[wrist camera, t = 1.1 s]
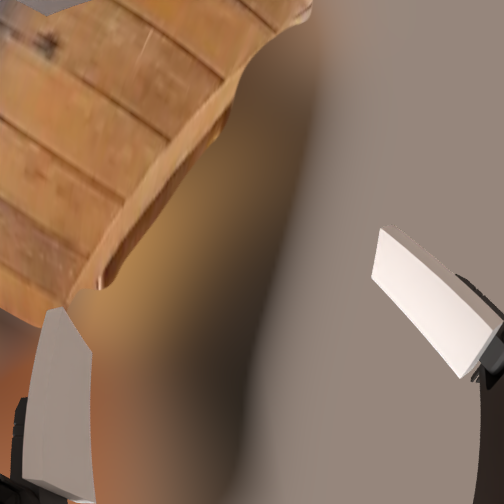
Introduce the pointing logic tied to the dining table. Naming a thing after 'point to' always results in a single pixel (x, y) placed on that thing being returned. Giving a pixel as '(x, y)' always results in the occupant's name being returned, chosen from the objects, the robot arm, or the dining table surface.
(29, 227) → the dining table surface
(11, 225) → the dining table surface
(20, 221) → the dining table surface
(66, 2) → the grey box
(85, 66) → the dining table surface
